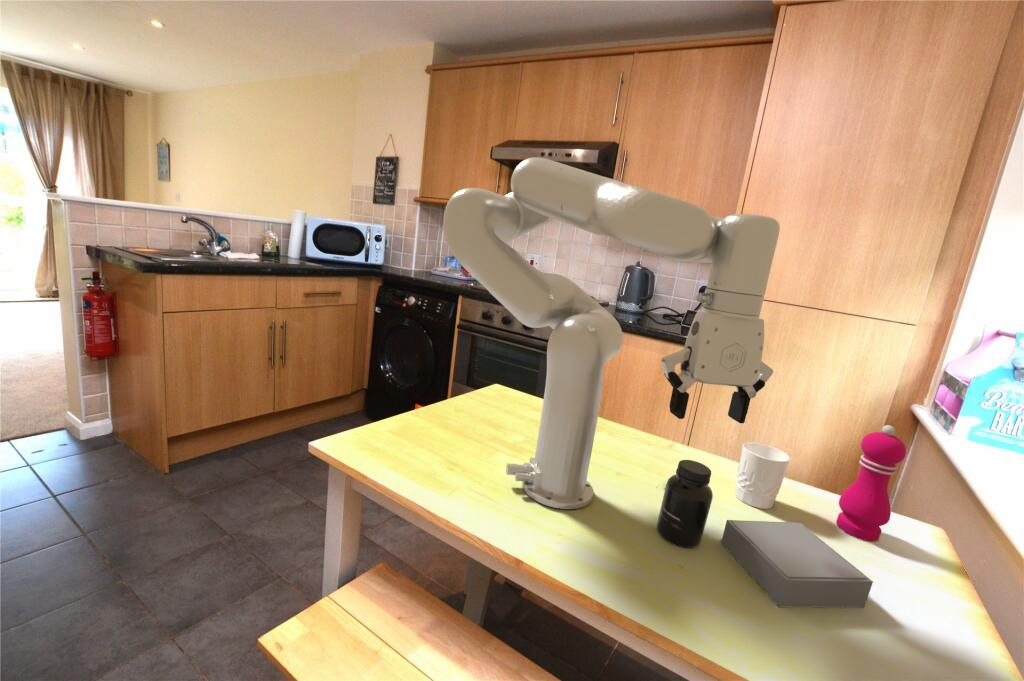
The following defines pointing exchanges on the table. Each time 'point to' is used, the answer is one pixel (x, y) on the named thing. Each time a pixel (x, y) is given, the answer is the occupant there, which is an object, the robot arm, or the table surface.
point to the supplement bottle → (686, 505)
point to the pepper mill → (871, 486)
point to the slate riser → (795, 565)
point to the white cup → (760, 474)
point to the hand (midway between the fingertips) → (706, 417)
